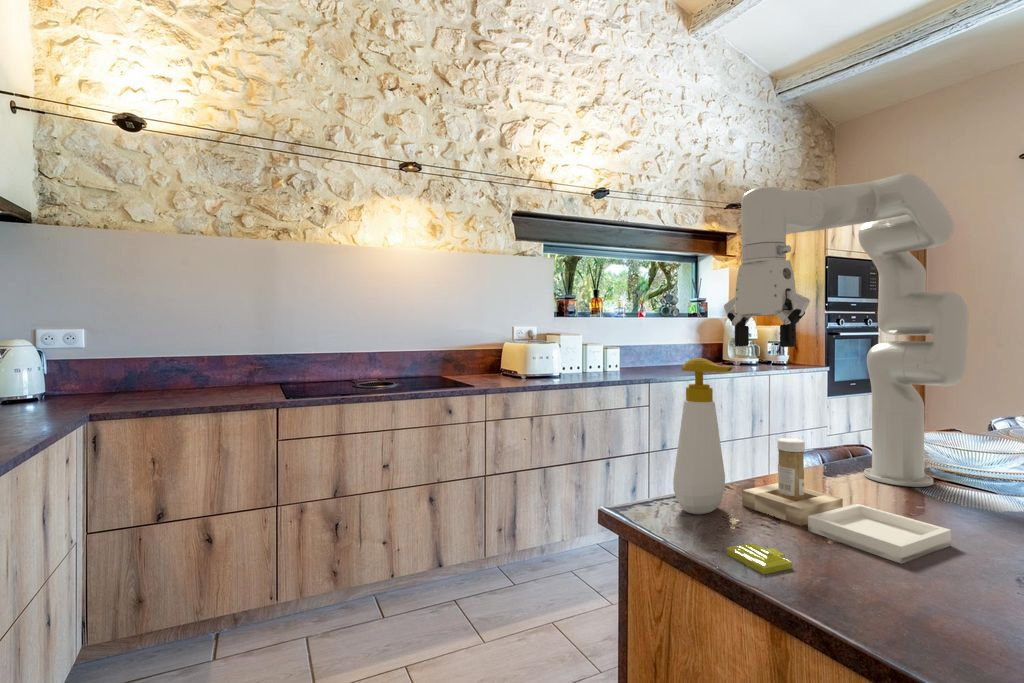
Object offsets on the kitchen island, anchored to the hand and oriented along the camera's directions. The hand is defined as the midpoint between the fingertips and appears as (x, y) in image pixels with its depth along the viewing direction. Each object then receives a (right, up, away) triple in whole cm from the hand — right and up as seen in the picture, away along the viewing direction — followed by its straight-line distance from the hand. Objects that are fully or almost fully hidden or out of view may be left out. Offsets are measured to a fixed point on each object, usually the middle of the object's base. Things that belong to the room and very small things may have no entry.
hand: (763, 346), depth 95 cm
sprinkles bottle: (+6, -31, +1) cm, 32 cm away
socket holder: (+6, -31, +1) cm, 32 cm away
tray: (+12, -31, -13) cm, 36 cm away
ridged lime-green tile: (-11, -33, -21) cm, 40 cm away
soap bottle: (-11, -32, 0) cm, 33 cm away
